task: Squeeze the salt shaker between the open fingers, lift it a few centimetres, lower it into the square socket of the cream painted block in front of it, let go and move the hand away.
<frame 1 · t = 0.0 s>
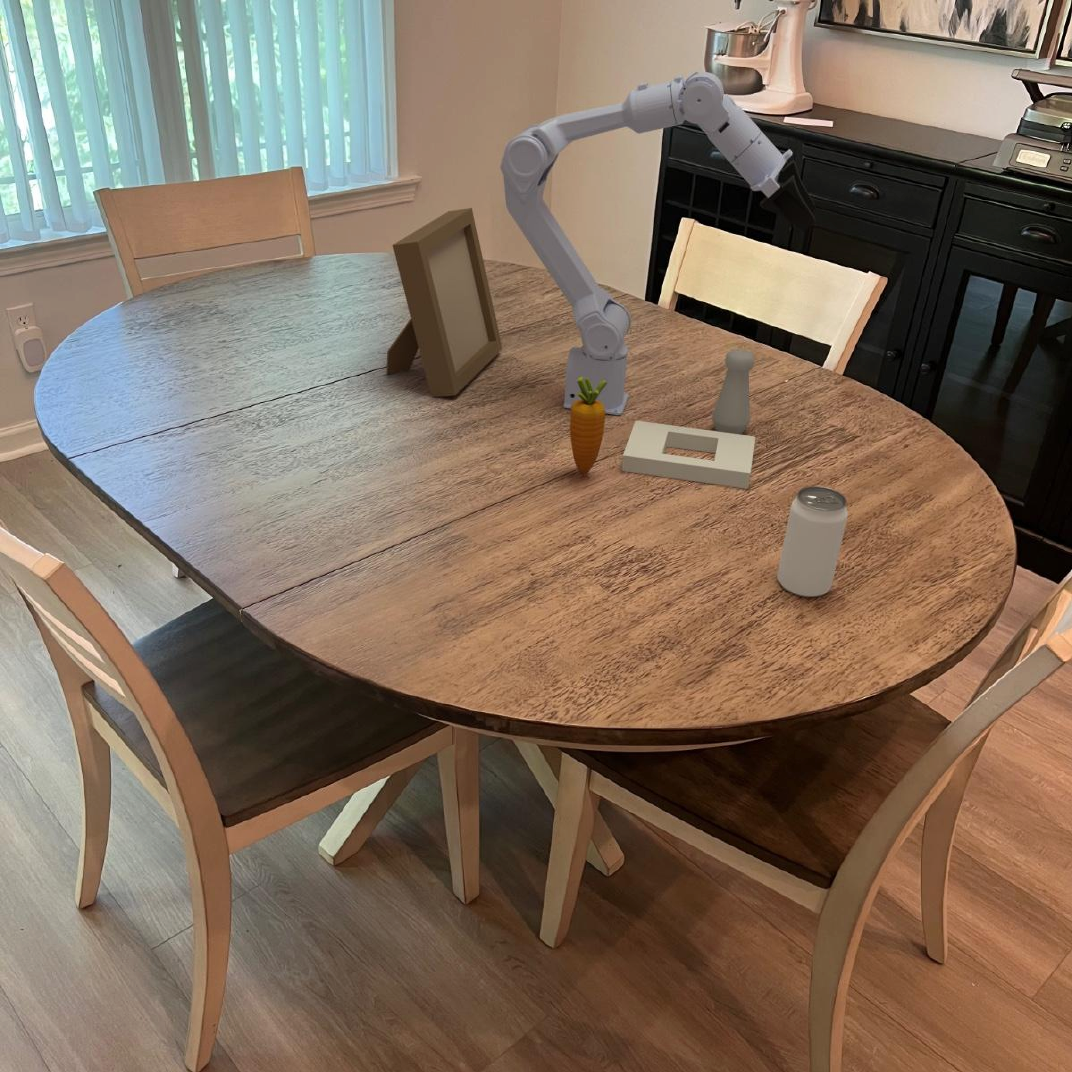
hand: (810, 219, 146), 32 cm above the table, tool tilted 50°, fingers open, 7 cm apart
socket block: (688, 461, 151), on the table
salt shaker: (728, 432, 161), on the table
can: (803, 584, 125), on the table
carrot: (583, 476, 146), on the table
photo frame: (439, 371, 177), on the table
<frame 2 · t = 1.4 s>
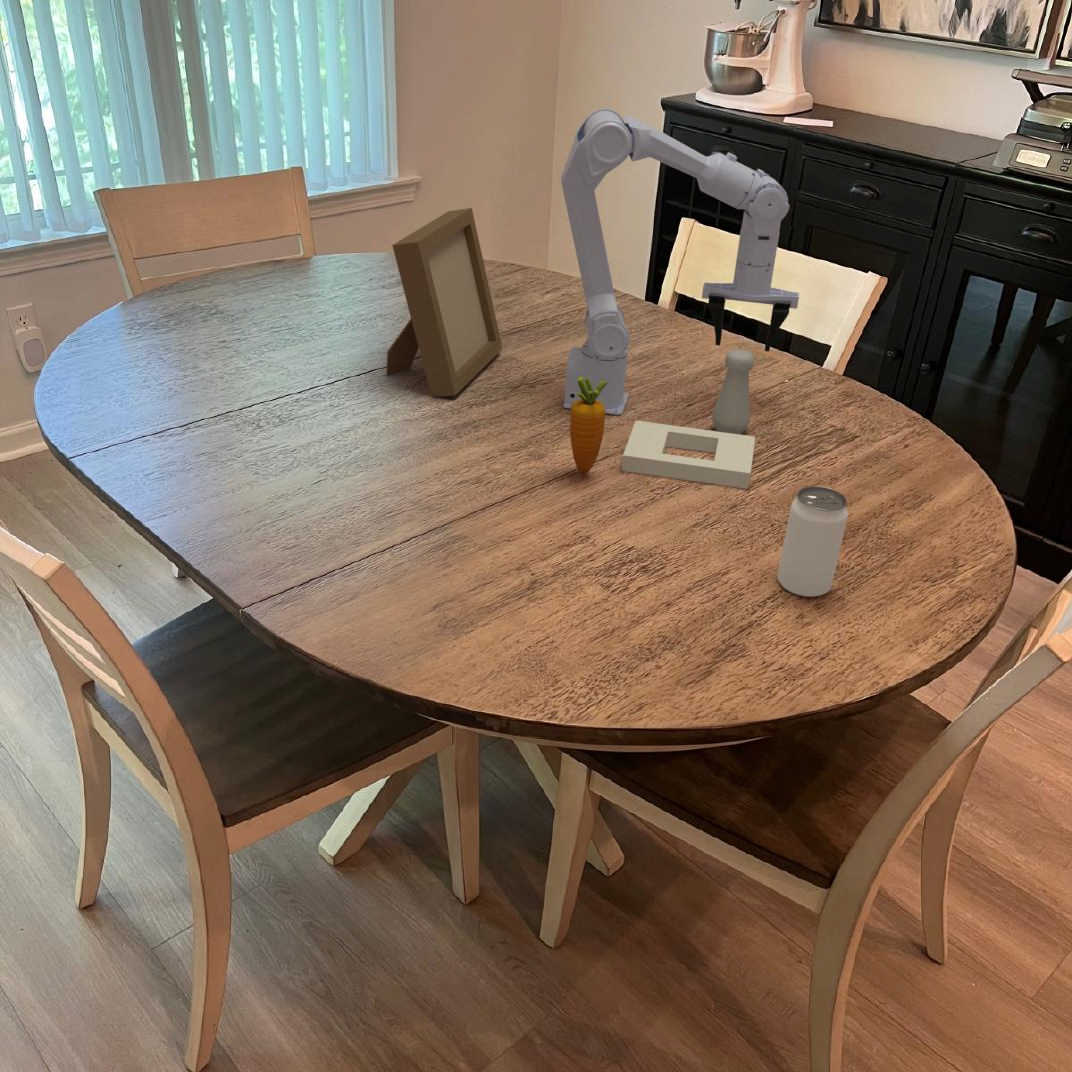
hand: (742, 346, 163), 10 cm above the table, tool pointing down, fingers open, 7 cm apart
nothing on the table moved.
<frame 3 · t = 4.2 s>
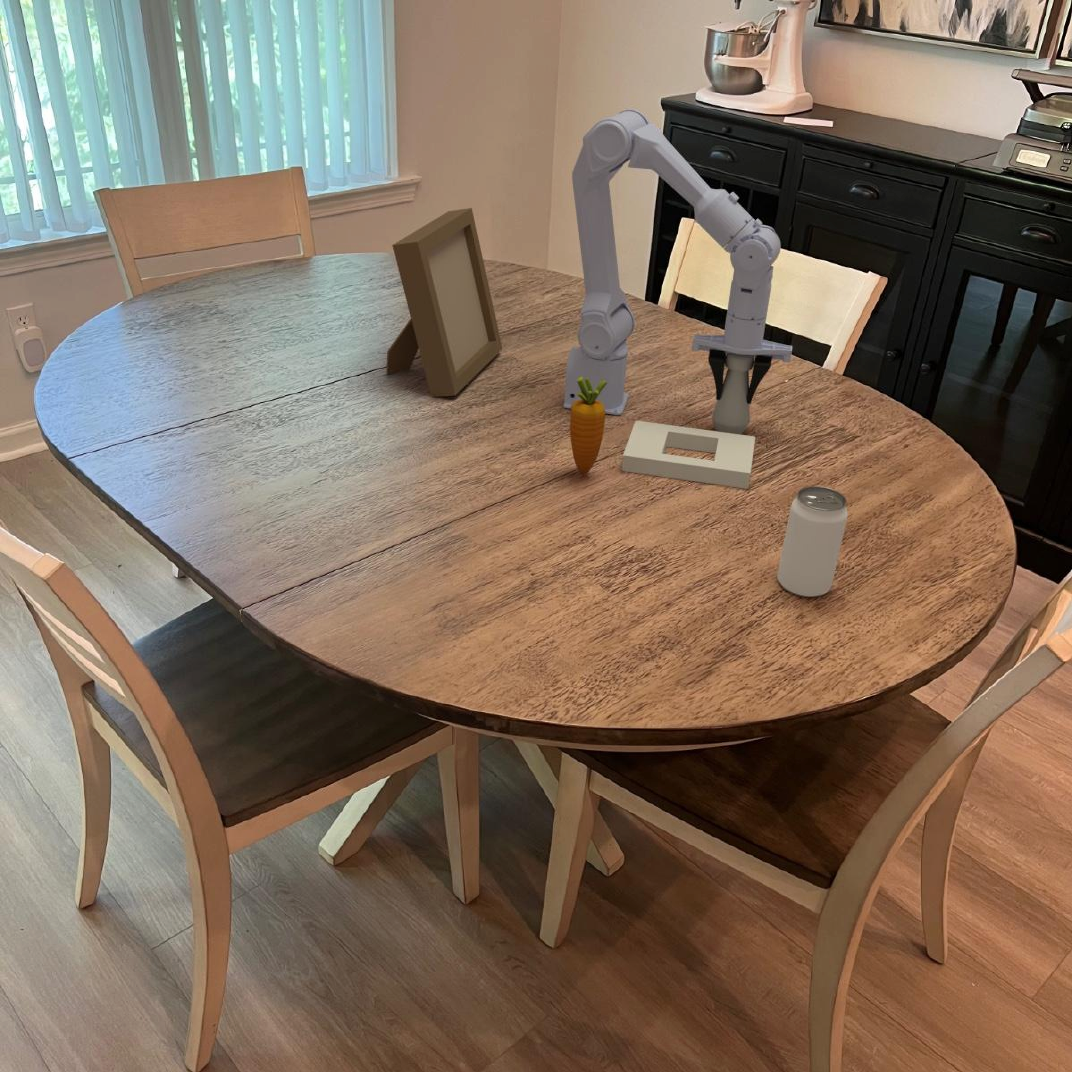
hand: (733, 399, 158), 5 cm above the table, tool pointing down, fingers closed on salt shaker, 4 cm apart
salt shaker: (728, 432, 160), on the table, touching gripper
everything else where it was.
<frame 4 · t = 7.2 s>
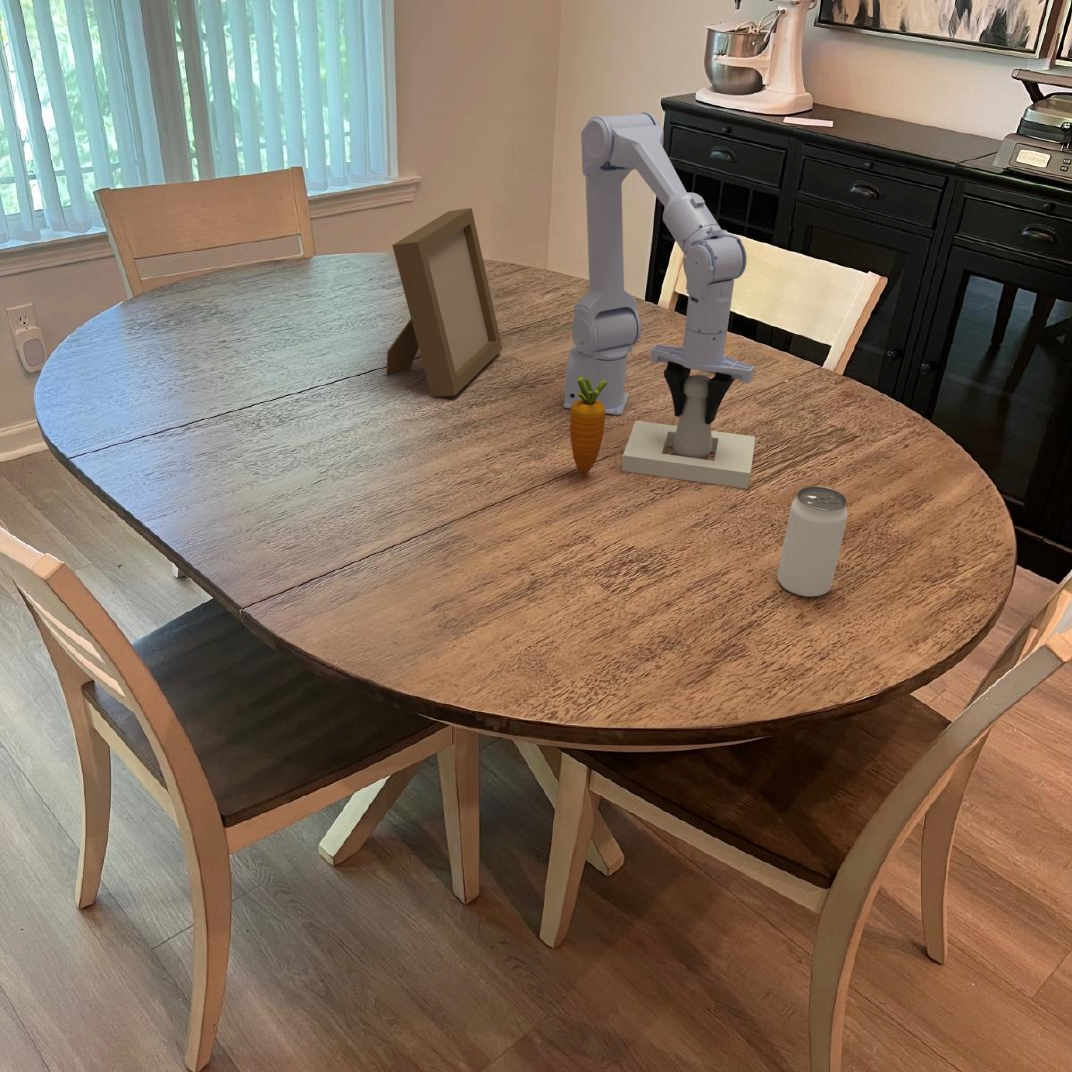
hand: (694, 417, 148), 7 cm above the table, tool pointing down, fingers closed on salt shaker, 4 cm apart
salt shaker: (690, 462, 151), resting in socket block, touching gripper
everything else where it was.
when the fingers open (6 cm above the table, at t = 8.2 s): salt shaker stays where it is, resting in socket block.
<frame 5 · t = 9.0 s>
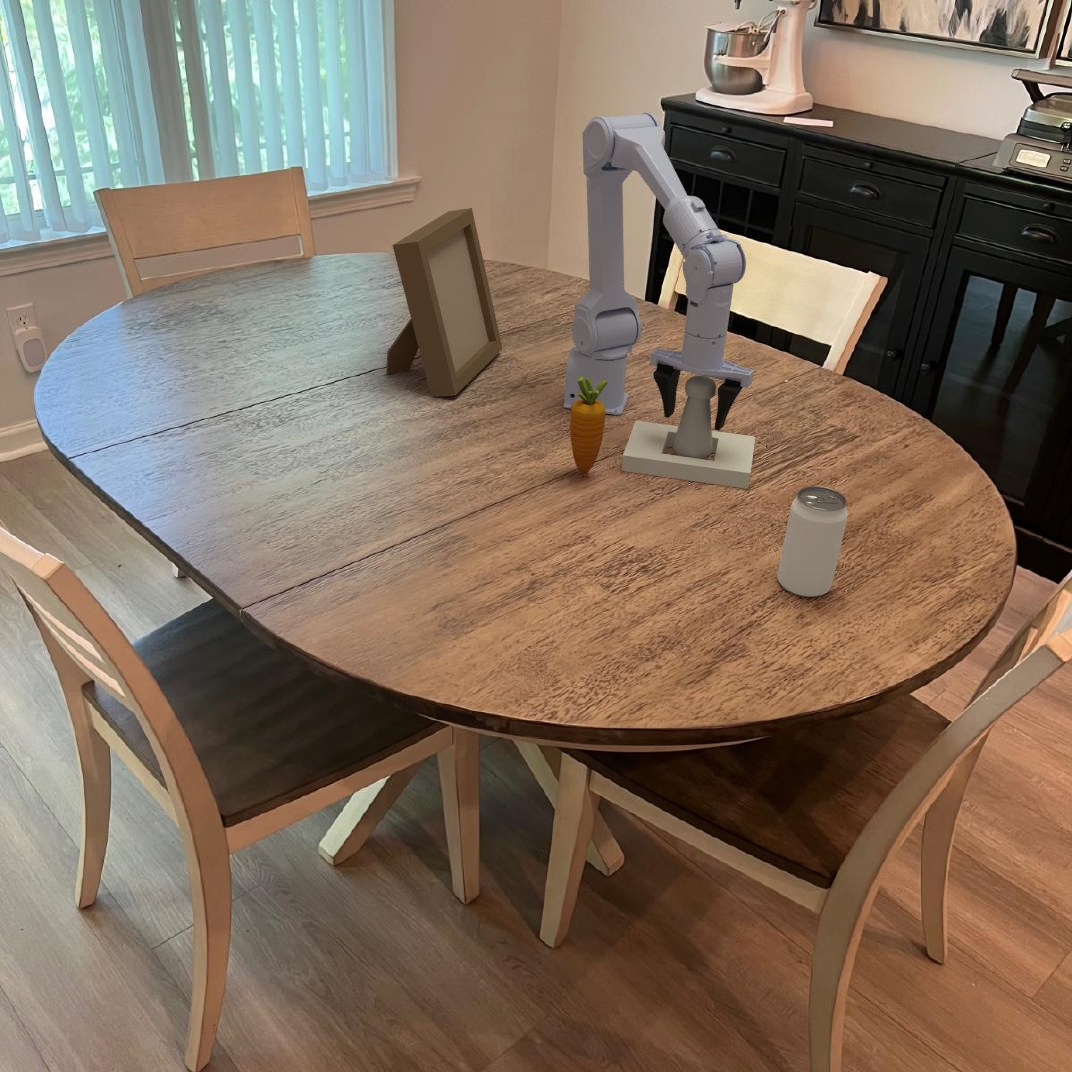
hand: (693, 421, 148), 6 cm above the table, tool pointing down, fingers open, 7 cm apart
salt shaker: (690, 462, 151), resting in socket block
everything else where it was.
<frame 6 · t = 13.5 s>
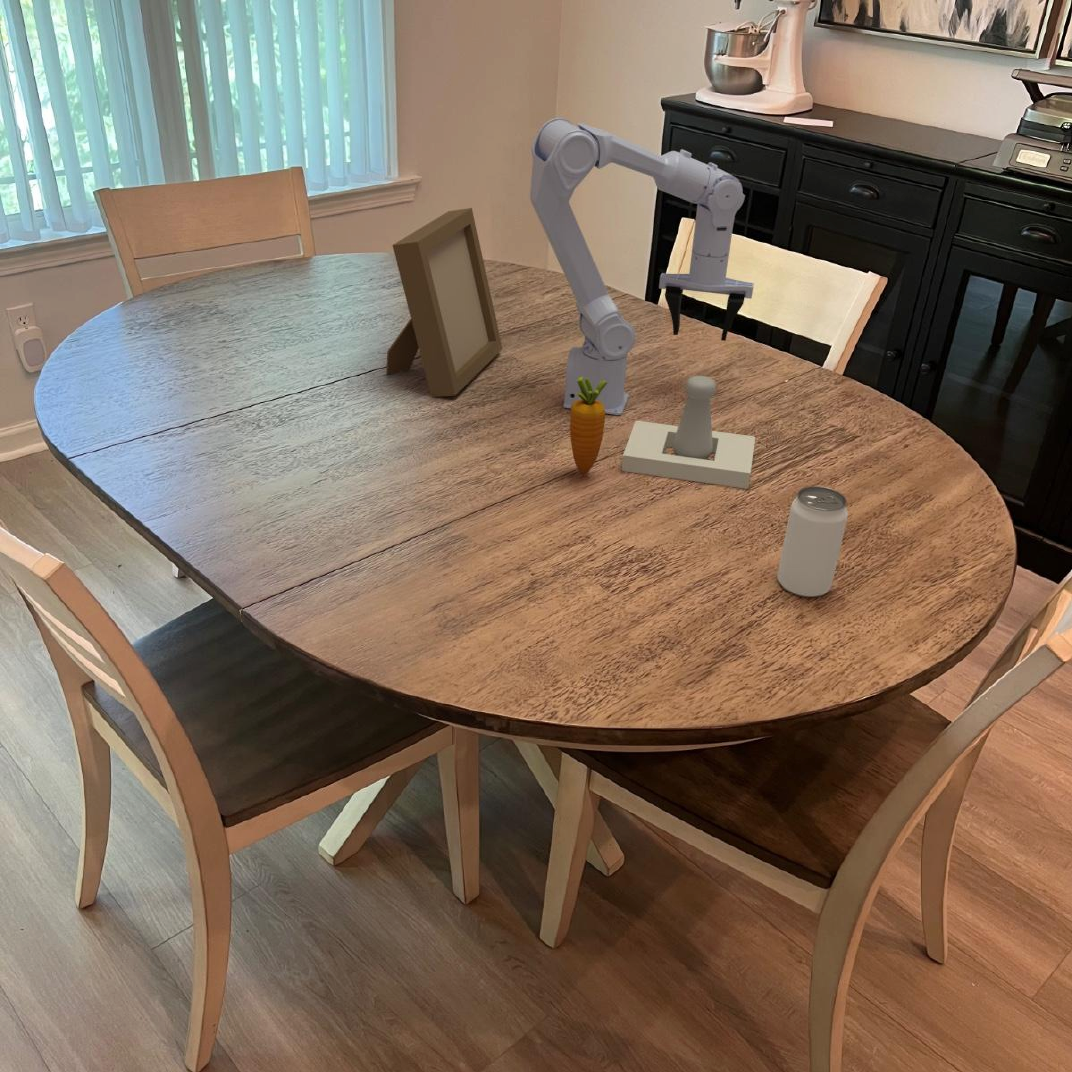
hand: (699, 335, 166), 10 cm above the table, tool pointing down, fingers open, 7 cm apart
nothing on the table moved.
at the end: salt shaker 0.4 cm off-centre on the socket block, point 0.0 cm above the socket block's base; salt shaker tilted 0°; the gripper is holding nothing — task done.
